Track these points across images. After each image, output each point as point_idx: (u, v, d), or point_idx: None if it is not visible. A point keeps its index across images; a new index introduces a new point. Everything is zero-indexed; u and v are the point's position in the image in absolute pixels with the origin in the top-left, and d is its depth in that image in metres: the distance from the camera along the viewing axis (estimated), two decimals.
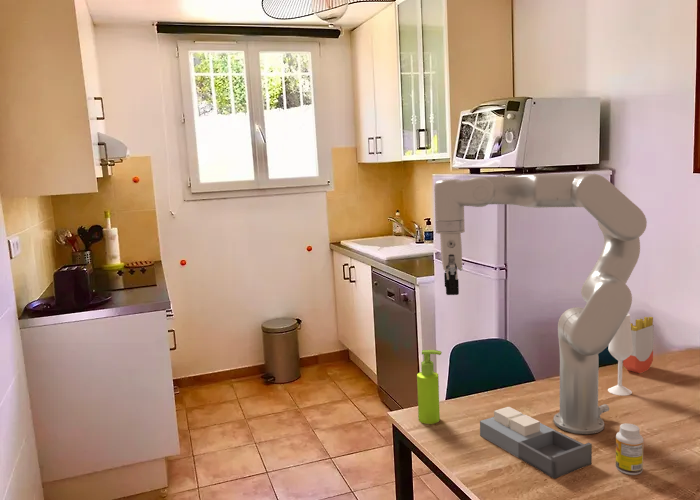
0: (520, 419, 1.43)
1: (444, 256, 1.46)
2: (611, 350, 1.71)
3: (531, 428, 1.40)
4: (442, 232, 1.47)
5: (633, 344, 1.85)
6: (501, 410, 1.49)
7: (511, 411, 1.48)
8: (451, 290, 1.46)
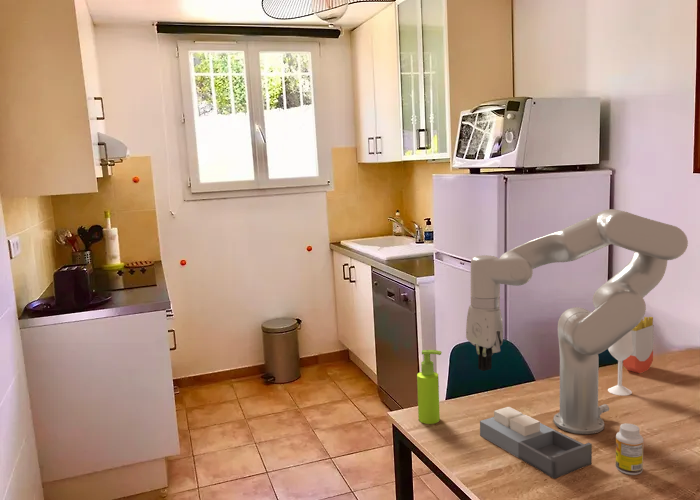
0: (520, 419, 1.43)
1: None
2: (611, 350, 1.71)
3: (531, 428, 1.40)
4: None
5: (633, 344, 1.85)
6: (501, 410, 1.49)
7: (511, 411, 1.48)
8: None
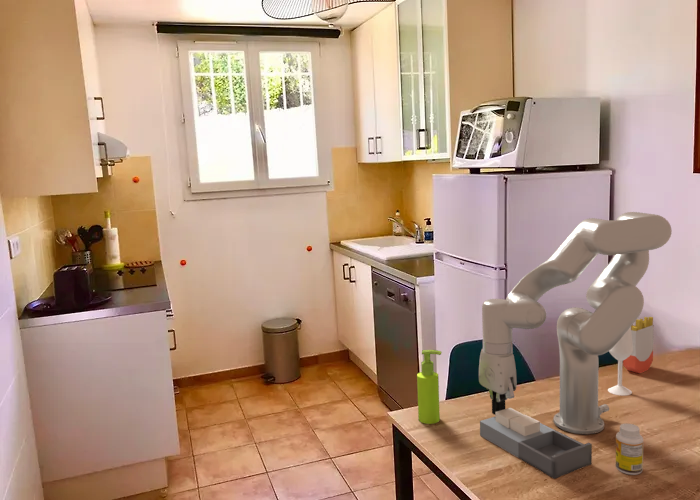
0: (520, 419, 1.43)
1: None
2: (611, 350, 1.71)
3: (531, 428, 1.40)
4: None
5: (633, 344, 1.85)
6: (502, 411, 1.48)
7: (513, 412, 1.47)
8: None
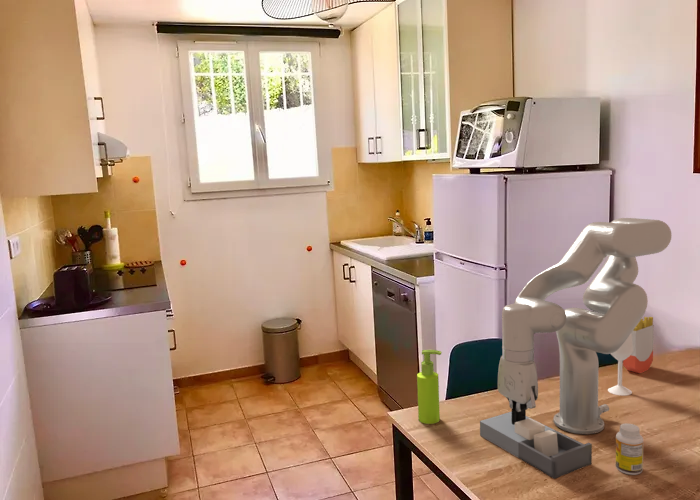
0: (547, 442, 1.35)
1: None
2: None
3: None
4: None
5: (633, 344, 1.85)
6: (522, 422, 1.41)
7: (533, 423, 1.40)
8: None
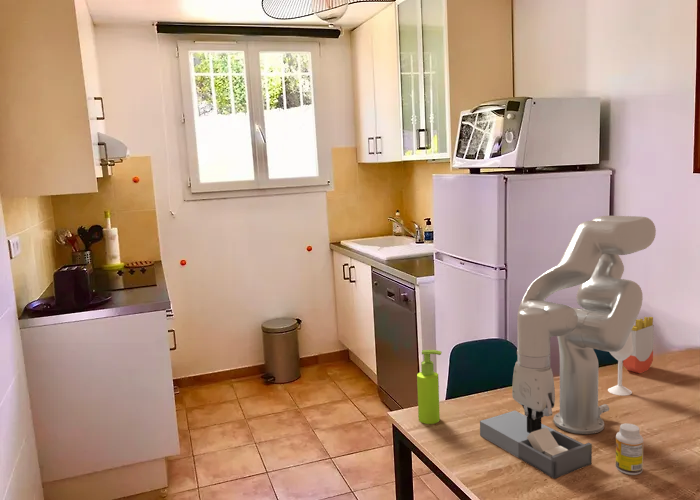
0: None
1: None
2: None
3: None
4: None
5: (633, 344, 1.85)
6: (538, 433, 1.37)
7: (548, 439, 1.36)
8: None
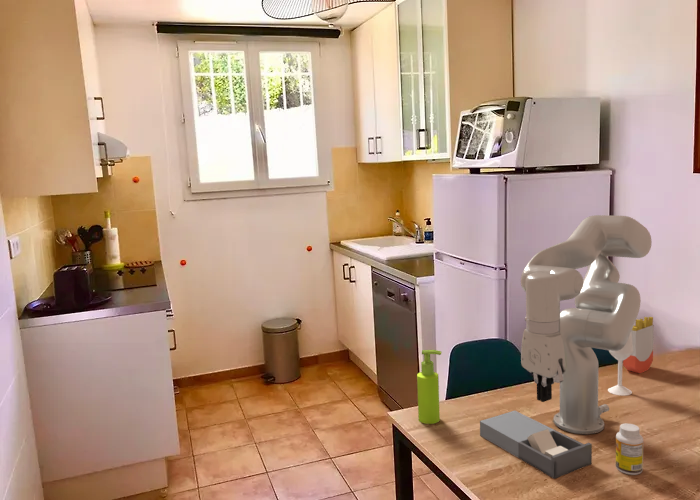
0: None
1: None
2: None
3: None
4: None
5: (633, 344, 1.85)
6: (539, 435, 1.36)
7: (548, 441, 1.36)
8: None
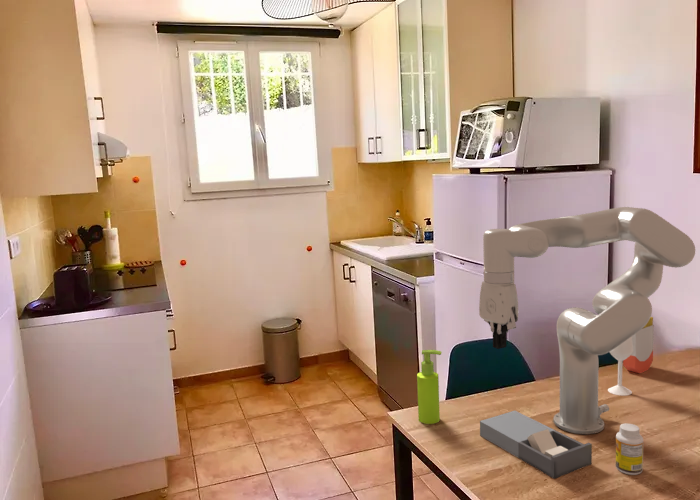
0: None
1: None
2: None
3: None
4: None
5: (633, 344, 1.85)
6: (539, 435, 1.36)
7: (548, 441, 1.36)
8: None
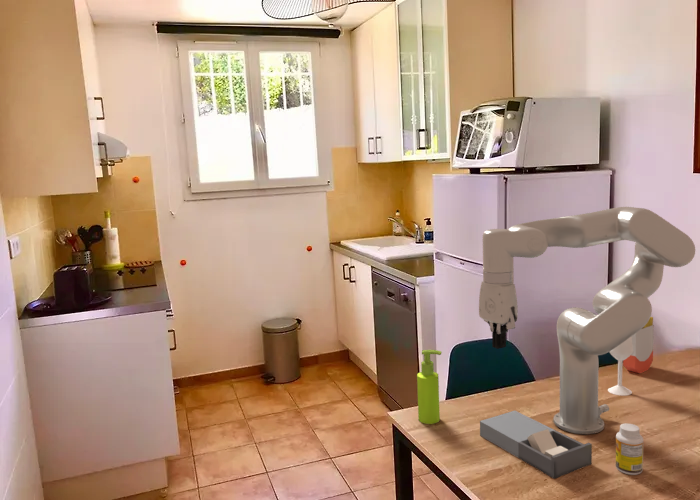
0: None
1: None
2: (611, 350, 1.71)
3: None
4: None
5: (633, 344, 1.85)
6: (539, 435, 1.36)
7: (548, 441, 1.36)
8: None
